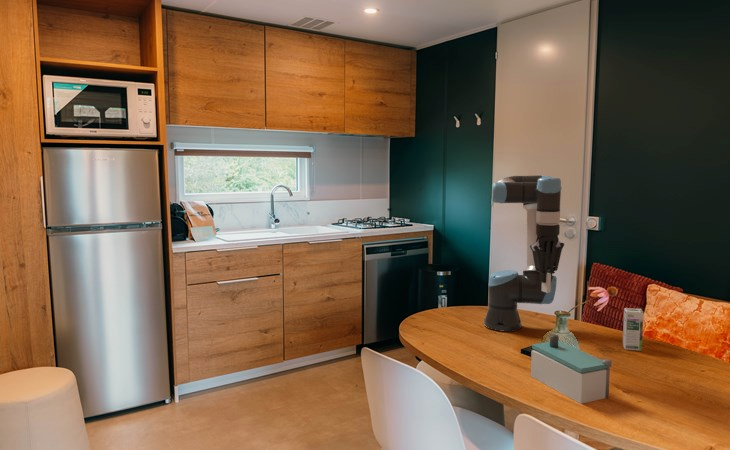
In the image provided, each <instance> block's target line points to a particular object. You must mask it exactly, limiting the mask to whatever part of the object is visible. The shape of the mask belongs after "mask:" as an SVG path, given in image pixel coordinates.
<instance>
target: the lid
mask: <svg viewBox="0 0 730 450" xmlns="http://www.w3.org/2000/svg"><path fill="white" fill-rule="evenodd" d="M531 348H532V350H535V351H538V352H540V353H542V354H544V355H546V356H548V357H550V358H552V359H555V360H557V361H558V362H560V363H562V364H564V365H566V366H568V367H570V368H572V369H574V370H576V371H578V372H580V373H583V372H588V371H594V370H599V369H605V368H610V367H611V368H612V365H613V363H612V362H613V360H611V359H609V358H602V359H601V358H599V357H597V356H594V355H591V354H589V353H587V352H586V351H583V350H580V349H578V348H577V347H573V346H572V345H569V344H567V343H565V342H562V341H560V340H559V335H558V334H554V333H553V334H549V341H547V342H541V343H540V342H539V343H534V344H531ZM611 368H610V369H611Z"/></svg>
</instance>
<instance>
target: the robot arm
mask: <svg viewBox="0 0 730 450" xmlns="http://www.w3.org/2000/svg"><path fill="white" fill-rule="evenodd" d="M491 189H492V190H491V192H492V196H491V197H492V203H495V204H522V205H523V209H524V210H525V211H526V267H525V268H524V269H523V271H522V274H519V273H518V271H517V270H498V271H495V272H493V273H491V274H490V276H489V279H488V285H487V286H488V308H487V311H486V314H485V318H484V319H483V325H484V324H485V325H486V326H487V327H489V328H492V329H496V330H504V331H503V332H513V331H512V330H516V331H519V330H521V329H522V321H521V317H520V314H519V311H518V304H530V305H532V304H533V305H534V304H535V305H551V304H552V303H553V302H554V299H555V295H556V291H557V290H556V289H557V280H558V279H557V276H555V275H553V274H555V273H556V271H558V269H559V265H560V260H561V255H562V251H563V248H564V247H565V243H564V242H561V241H560V240H559V235H560V227H561V225H560V224H559V223H561V197H562V196H561V195H562V193H561V192H562V180H561V178H559V177H553V176H550V175H542V174H540V175H512V176H508V177H504V178H501V179H500V180H498V181H497V182H493V184H492V188H491ZM520 328H521V329H520ZM518 329H519V330H518Z"/></svg>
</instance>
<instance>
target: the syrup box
mask: <svg viewBox="0 0 730 450" xmlns="http://www.w3.org/2000/svg"><path fill="white" fill-rule="evenodd" d="M622 324H623V328H622V331H623V332H622V346H623V348H624V350H627V351H628V350H629V351H638V352H642V351H643V337H644V336H643V334H644V311H643V309H642V308H631V307H629V308H628V307H624V308H623V323H622Z"/></svg>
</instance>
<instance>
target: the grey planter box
mask: <svg viewBox="0 0 730 450" xmlns="http://www.w3.org/2000/svg"><path fill="white" fill-rule="evenodd" d="M530 356H531V357H530V360H531V362H530V377H531V378H533V379H535V380H536V381H538V382H540V383H542V384H544V385H545V386H548V387H550V388H551V389H553V390H555V391H557V392H559V393H560V394H562V395H564V396H566V397H568V398H570V399H571V400H572V401H575V402H577V403H579V404H580V405H581V404H586V403H591V402H594V401H598V400H599V401H600V400H603V399H609V396H610V377H611V376H610V372H611V368H605V369H599V370H594V371H588V372H583V373H580V372H578V371H576V370H574V369H572V368H570V367H568V366H566V365H564V364H562V363H560V362H558V361H557V360H555V359H553V358H551V357H549V356H547V355H545V354H543V353H541V352H539V351H537V350H535V349H532V350H531V353H530Z"/></svg>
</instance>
